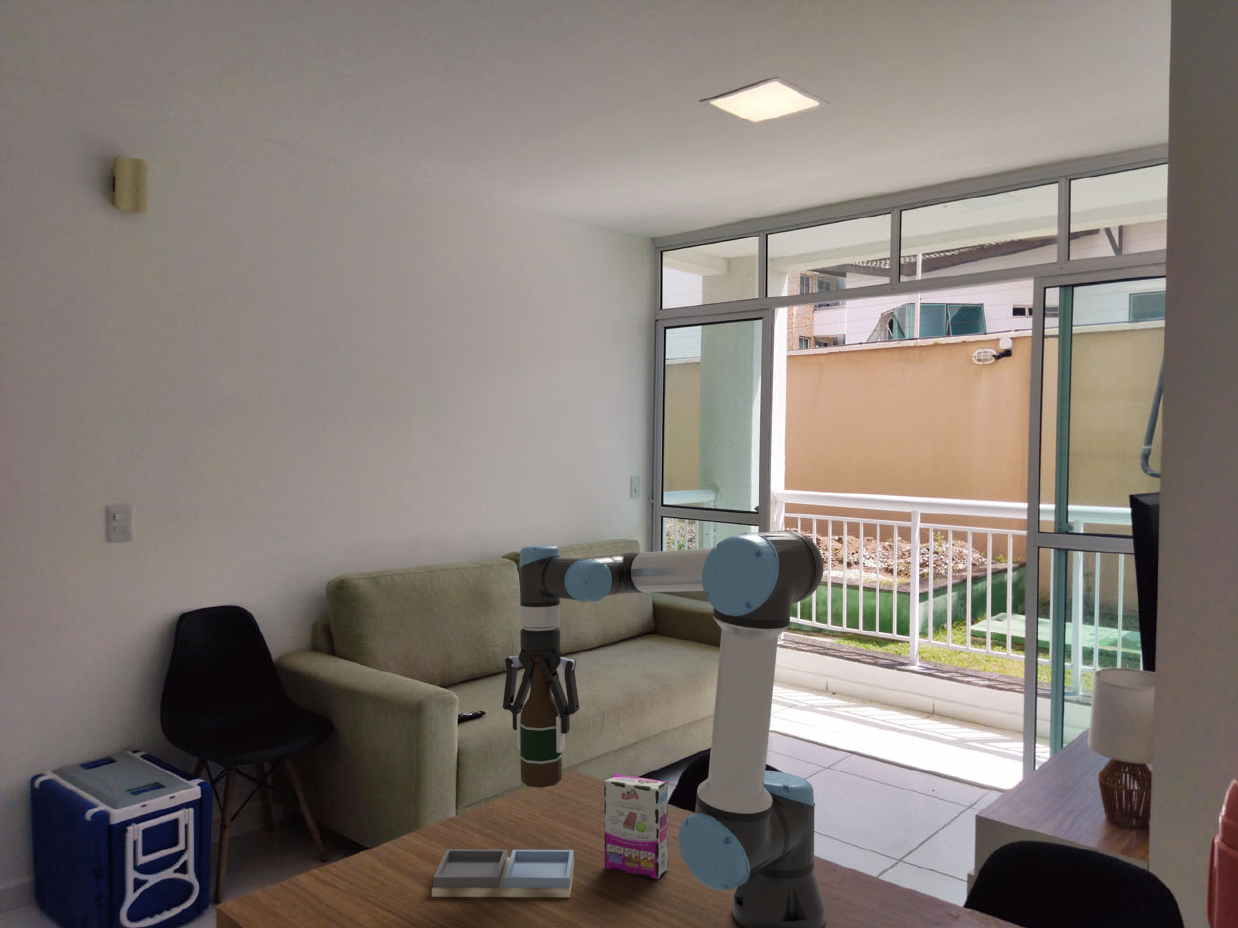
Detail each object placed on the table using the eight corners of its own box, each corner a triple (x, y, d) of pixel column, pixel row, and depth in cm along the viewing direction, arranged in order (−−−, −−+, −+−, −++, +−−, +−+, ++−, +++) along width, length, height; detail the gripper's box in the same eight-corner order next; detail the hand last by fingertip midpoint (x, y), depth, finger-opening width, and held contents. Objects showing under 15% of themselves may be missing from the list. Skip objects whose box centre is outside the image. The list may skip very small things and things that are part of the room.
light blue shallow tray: (573, 859, 166) (573, 849, 166) (569, 887, 154) (569, 877, 154) (512, 859, 166) (512, 849, 166) (504, 887, 154) (504, 877, 154)
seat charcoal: (507, 859, 166) (507, 849, 166) (498, 887, 154) (498, 877, 154) (446, 858, 166) (446, 849, 166) (433, 887, 154) (433, 876, 154)
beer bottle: (562, 787, 164) (561, 656, 164) (520, 789, 163) (519, 658, 163) (561, 773, 171) (560, 649, 172) (520, 775, 170) (519, 650, 171)
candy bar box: (669, 869, 164) (669, 780, 164) (658, 880, 160) (658, 789, 160) (615, 857, 169) (615, 771, 169) (603, 868, 164) (603, 780, 165)
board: (574, 863, 166) (574, 857, 166) (569, 897, 153) (569, 890, 153) (446, 863, 166) (446, 856, 166) (431, 896, 153) (431, 889, 153)
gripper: (596, 625, 168) (597, 747, 168) (499, 622, 174) (500, 739, 173) (584, 632, 161) (585, 758, 161) (483, 628, 167) (483, 750, 166)
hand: (541, 748), depth 167 cm, fingers closed on beer bottle, 7 cm apart
